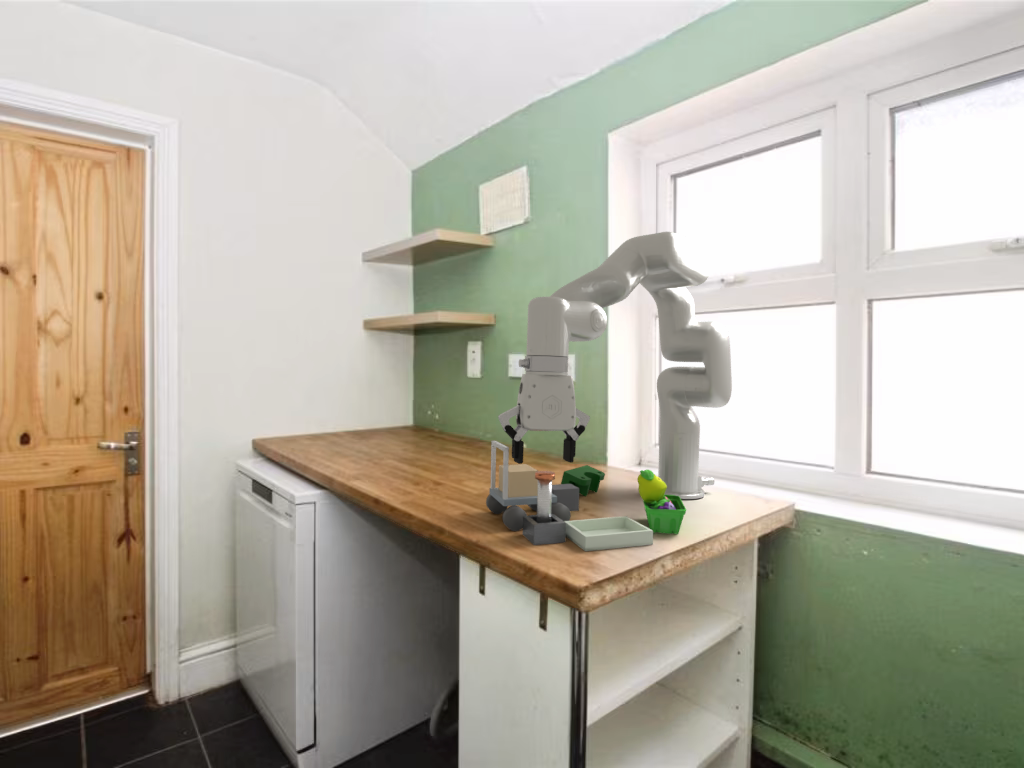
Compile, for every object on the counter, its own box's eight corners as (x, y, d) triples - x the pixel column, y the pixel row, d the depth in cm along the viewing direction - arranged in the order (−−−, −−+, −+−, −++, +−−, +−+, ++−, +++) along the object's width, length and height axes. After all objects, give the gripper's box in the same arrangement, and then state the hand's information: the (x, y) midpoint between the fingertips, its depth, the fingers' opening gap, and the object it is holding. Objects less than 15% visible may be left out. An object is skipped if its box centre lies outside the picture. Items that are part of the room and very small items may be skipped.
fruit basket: (686, 537, 99) (688, 477, 98) (637, 533, 100) (639, 474, 100) (678, 519, 110) (680, 465, 109) (634, 516, 111) (636, 463, 111)
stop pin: (549, 534, 99) (550, 470, 98) (556, 540, 95) (558, 474, 95) (530, 536, 97) (532, 471, 97) (537, 542, 94) (539, 475, 94)
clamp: (579, 514, 128) (580, 484, 124) (559, 503, 132) (559, 475, 127) (606, 488, 136) (607, 459, 131) (586, 479, 139) (587, 451, 135)
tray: (625, 528, 103) (626, 516, 103) (652, 544, 94) (653, 530, 94) (563, 534, 99) (563, 521, 99) (585, 551, 90) (585, 536, 90)
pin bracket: (552, 531, 100) (552, 513, 100) (565, 542, 94) (565, 522, 94) (522, 534, 98) (522, 515, 98) (533, 545, 92) (534, 525, 92)
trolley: (544, 508, 117) (546, 437, 116) (570, 526, 104) (572, 447, 103) (485, 512, 112) (487, 439, 112) (505, 532, 99) (506, 449, 99)
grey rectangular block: (570, 505, 119) (570, 483, 119) (578, 511, 115) (579, 488, 115) (545, 507, 118) (545, 485, 117) (553, 512, 113) (553, 489, 113)
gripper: (507, 365, 89) (503, 466, 89) (600, 368, 94) (596, 464, 95) (494, 365, 96) (491, 459, 96) (581, 368, 101) (578, 457, 102)
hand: (543, 461), depth 95 cm, fingers open, 9 cm apart
